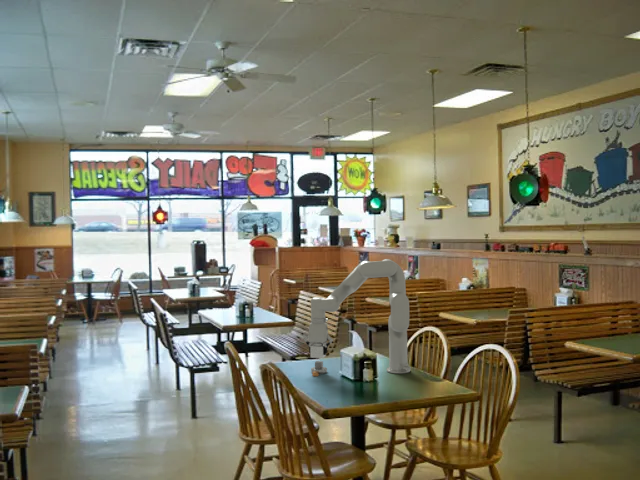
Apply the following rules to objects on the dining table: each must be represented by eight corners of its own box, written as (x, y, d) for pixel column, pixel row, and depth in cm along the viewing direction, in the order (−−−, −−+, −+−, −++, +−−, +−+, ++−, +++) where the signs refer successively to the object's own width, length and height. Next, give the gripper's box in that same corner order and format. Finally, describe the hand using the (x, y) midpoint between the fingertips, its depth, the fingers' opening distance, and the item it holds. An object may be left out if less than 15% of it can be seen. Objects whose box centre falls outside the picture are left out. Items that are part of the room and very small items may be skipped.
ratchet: (322, 376, 323) (322, 365, 323) (307, 375, 325) (307, 365, 325) (328, 370, 336) (328, 360, 336) (313, 370, 338) (313, 359, 338)
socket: (323, 358, 328) (323, 344, 328) (310, 357, 330) (310, 343, 330) (325, 355, 335) (325, 342, 335) (313, 354, 336) (313, 341, 336)
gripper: (335, 320, 333) (335, 353, 334) (304, 319, 338) (304, 352, 338) (332, 322, 326) (332, 356, 327) (300, 321, 330) (300, 354, 331)
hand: (318, 353), depth 332 cm, fingers closed on socket, 6 cm apart
